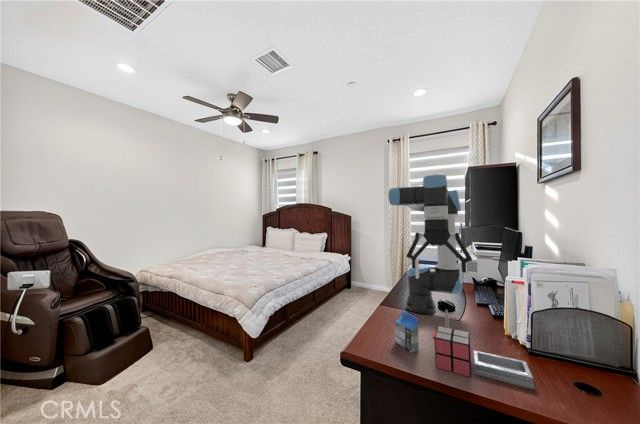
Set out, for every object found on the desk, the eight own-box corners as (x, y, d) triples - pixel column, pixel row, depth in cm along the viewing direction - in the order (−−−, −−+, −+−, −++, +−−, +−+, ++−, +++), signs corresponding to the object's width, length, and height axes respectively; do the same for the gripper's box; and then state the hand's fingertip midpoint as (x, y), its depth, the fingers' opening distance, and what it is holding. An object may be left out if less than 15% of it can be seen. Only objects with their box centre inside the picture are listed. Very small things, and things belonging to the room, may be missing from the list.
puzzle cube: (471, 378, 73) (469, 345, 74) (435, 368, 79) (434, 337, 79) (470, 361, 82) (469, 332, 82) (438, 353, 87) (437, 325, 88)
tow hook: (430, 333, 103) (437, 343, 94) (429, 303, 104) (435, 310, 95) (451, 335, 102) (460, 345, 93) (449, 304, 103) (458, 311, 94)
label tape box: (394, 342, 96) (393, 311, 96) (402, 340, 97) (401, 309, 98) (411, 353, 88) (410, 319, 88) (419, 351, 89) (418, 317, 90)
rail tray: (473, 358, 84) (473, 349, 84) (525, 370, 77) (525, 360, 77) (475, 374, 75) (475, 364, 75) (533, 389, 68) (533, 378, 68)
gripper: (397, 219, 87) (399, 278, 86) (479, 217, 74) (482, 287, 73) (401, 219, 93) (403, 274, 92) (478, 217, 80) (480, 281, 80)
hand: (438, 280), depth 83 cm, fingers open, 13 cm apart
